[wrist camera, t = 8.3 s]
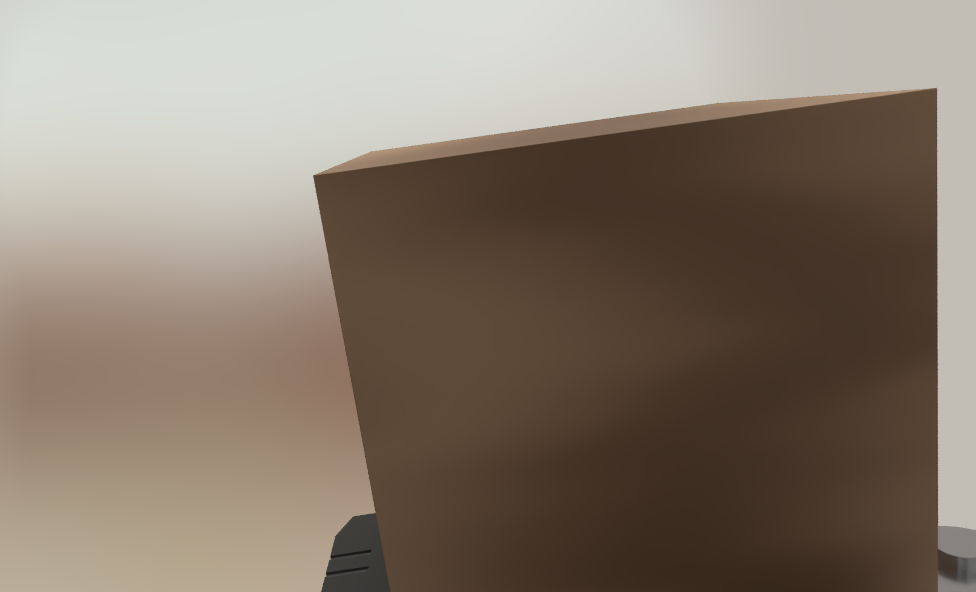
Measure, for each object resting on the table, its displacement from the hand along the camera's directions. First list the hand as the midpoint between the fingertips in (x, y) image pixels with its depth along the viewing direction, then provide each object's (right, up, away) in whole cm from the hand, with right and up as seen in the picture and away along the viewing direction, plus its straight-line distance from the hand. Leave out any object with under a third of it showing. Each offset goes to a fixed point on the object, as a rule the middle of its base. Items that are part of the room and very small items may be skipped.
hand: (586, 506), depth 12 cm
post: (+1, -8, -1) cm, 8 cm away
